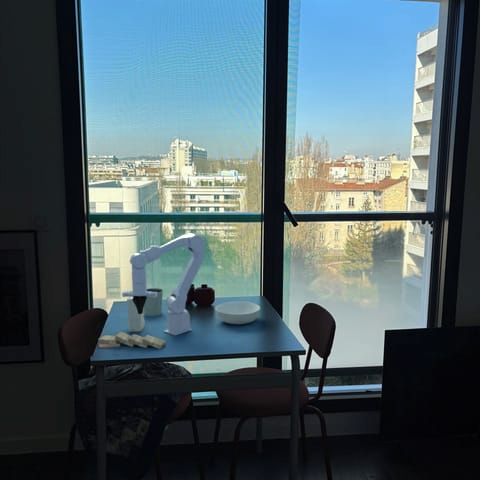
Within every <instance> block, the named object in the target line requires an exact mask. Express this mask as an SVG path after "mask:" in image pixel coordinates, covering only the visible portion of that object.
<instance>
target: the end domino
mask: <svg viewBox="0 0 480 480" xmlns="http://www.w3.org/2000/svg"><path fill="white" fill-rule="evenodd" d="M116 347H117V348H119V347H121V342H119V343H117V344H107V343H99V346H98V349H106V348H107V349H108V348H116Z"/></svg>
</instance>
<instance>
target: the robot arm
mask: <svg viewBox="0 0 480 480" xmlns="http://www.w3.org/2000/svg"><path fill="white" fill-rule="evenodd" d="M205 246H206V242H205V241H204V239H203V237H202V236H201V235H199V234H195V233H193V232H189V233H187V234H183V235H181V236H179V237H177V238H175V239H173V240H171V241H169V242H166V243H164V244H163V245H161V246H159V245H150V246H149V248H146V249H144V250H140V251H139V253H138V252H136V253H135V252H134V253H133V254H132V255H131V256H130V260H129V263H130V264H131V283H132V286H131V287H132V290H129V291H122V294H121V295H122V298H127V297H133V299H132V300H133V302H134V304H135V306H136V308H137V311H138V314H142V313H143V308H144V304H145V302H146V299H147V297H157V292H151V291H146V289H147V271H146V266H147V264H148V265H149V264H151V263H153V262H155V261H157V260H159V259H162V258H163V255H164V254H167V253H168V252H171V251H174V250H176V249H179V248H187V249H188V251H189V253H190V255H191V258H190V259H189V260H188V263H187V265H186V268H185V270H184V271H183V274H182V276H181V277H180V280H179V282H178V283H177V286H176V288H175V289H174V290H172V292H171V294H170V295H169V296H168V297H167V298H166V300H165V305H166V307H167V308H168V309H167V329H165V330H163V332H164V333H167V334H169V335H172V336H178V335H181V334H183V333H186V332H190V331H192V328H191V316H190V313H189V311H188V310H187V309H186V303H187V299H188V293H189V291H190V288H191V286H192V284H193V282H194V280H195V278H196V277H197V275H198V272H199V270H200V268H201V266H202V264H203V262H204V260H205Z"/></svg>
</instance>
